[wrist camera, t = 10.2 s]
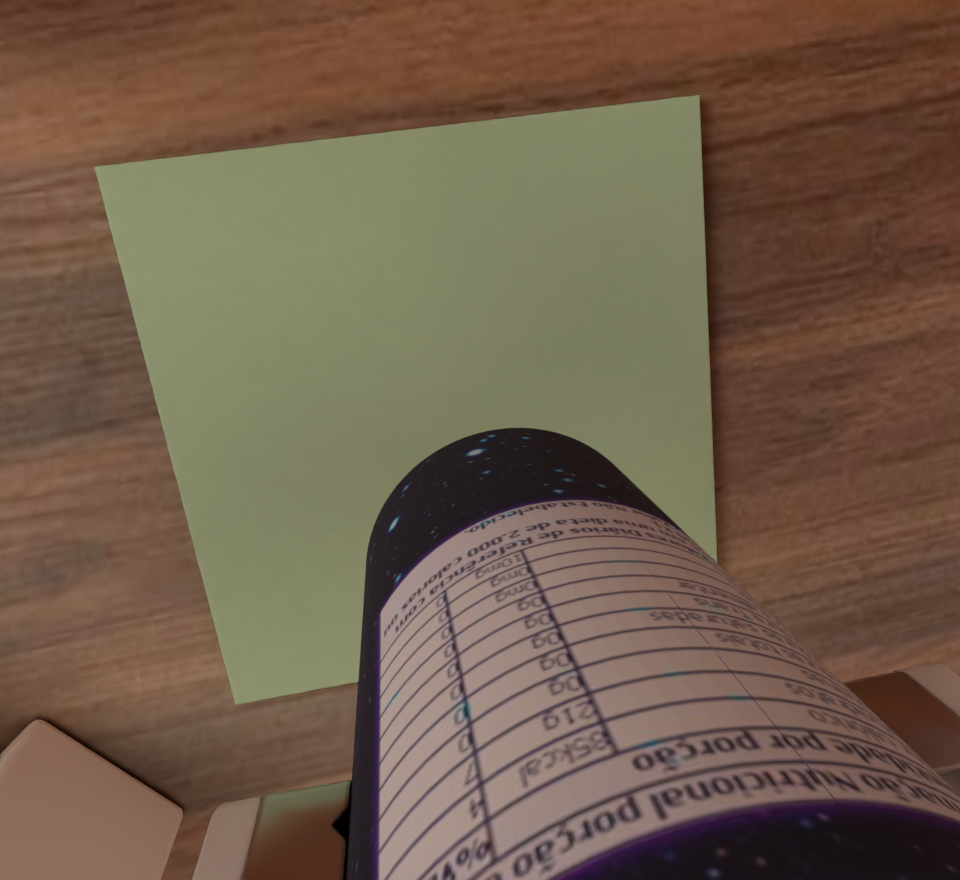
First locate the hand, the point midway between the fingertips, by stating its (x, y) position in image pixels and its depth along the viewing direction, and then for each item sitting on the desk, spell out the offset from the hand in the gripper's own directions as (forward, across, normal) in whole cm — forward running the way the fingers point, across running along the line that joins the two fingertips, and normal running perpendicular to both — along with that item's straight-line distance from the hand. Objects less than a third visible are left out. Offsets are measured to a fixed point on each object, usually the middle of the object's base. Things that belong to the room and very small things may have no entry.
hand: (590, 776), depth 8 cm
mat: (+19, 0, 0) cm, 19 cm away
